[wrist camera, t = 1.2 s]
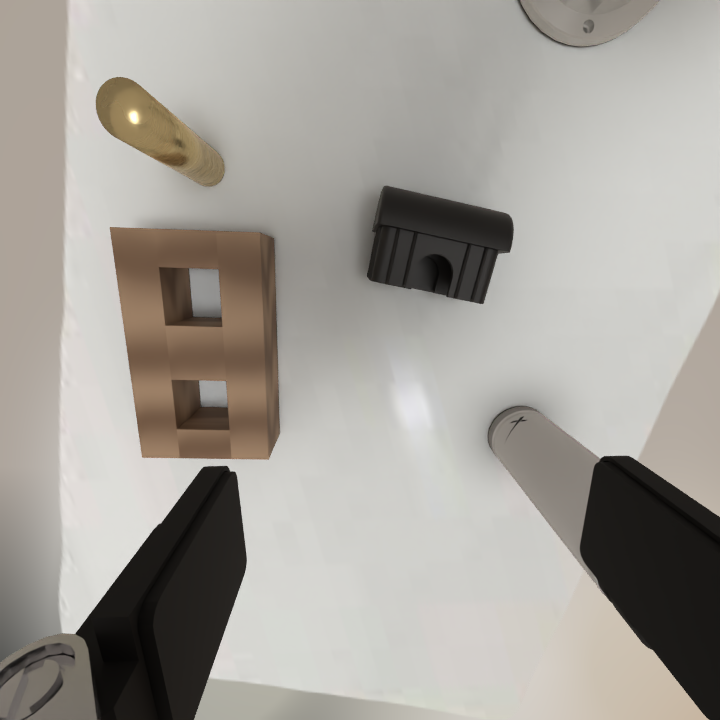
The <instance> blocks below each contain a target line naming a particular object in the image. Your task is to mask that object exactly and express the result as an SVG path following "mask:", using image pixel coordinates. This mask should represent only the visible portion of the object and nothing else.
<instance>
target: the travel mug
mask: <svg viewBox="0 0 720 720" xmlns="http://www.w3.org/2000/svg"><path fill="white" fill-rule="evenodd" d="M488 440H489V445H490V447H491V449H492V451H493V452H494V454H495V455H496V456H497V457H498V459H499V460H500V461H501V463H502V464H503V465H504V467H505V468H506V469H507V470H508V472H509V473H510V474H511V476H512V477H513V478H514V479H515V481H516V482H517V483H518V485H519V486H520V487H521V488H522V490H523V491H524V492H525V494H526V495H527V496H528V498H529V499H530V500H531V501H532V503H533V504H534V505H535V507H536V508H537V509H538V510H539V512H540V513H541V514H542V516H543V517H544V518H545V519H546V521H547V522H548V523H549V525H550V526H551V527H552V529H553V530H554V531H555V532H556V534H557V535H558V536H559V538H560V539H561V540H562V541H563V543H564V544H565V545H566V547H567V548H568V549H569V551H570V552H571V553H572V554H573V556H574V557H575V558H576V560H577V561H578V562H579V563H580V565H581V566H582V567H583V569H584V570H585V571H586V572H587V574H588V575H589V576H590V577H591V579H592V580H593V581H594V582H595V583H596V585H597V587H598V588H599V589H600V591H601V592H602V593H603V594H604V595H605V596H606V597H607V598H608V599H609V601H610V602H612V603H613V605H614V607H615V608H616V610H617V611H618V612H619V613H620V615H621V616H622V617H623V619H624V620H625V621H626V622H627V624H628V625H629V626H630V628H631V629H632V630H633V631H634V633H635V634H636V635H637V637H638V638H639V639H640V640H641V642H642V643H643V644H644V645H645V646H647V647H648V648H650V649H652V648H651V647H650V646H649V644H648V643H647V642H646V641H645V639H644V638H643V637H642V635H641V634H640V633H639V632H638V630H637V629H636V628H635V627H634V625H633V624H632V623H631V621H630V620H629V619H628V618H627V616H626V615H625V614H624V613H623V611H622V610H621V609H620V607H619V606H618V605H617V604H616V602H615V601H614V600H613V599H612V597H611V596H610V595H609V594H608V592H607V591H606V590H605V588H604V587H603V586H602V585H601V583H600V582H599V581H598V580H597V578H596V577H595V576H594V574H593V573H592V572H591V571H590V569H589V568H588V567H587V566H586V564H585V563H584V561H583V559H582V557H581V554H580V542H581V536H582V530H583V525H584V519H585V514H586V508H587V502H588V497H589V491H590V486H591V480H592V474H593V469H594V465H595V464H596V463H598V462H599V461H600V458H599V457H597V456H596V455H595V454H593V453H592V452H591V451H589V450H588V449H587V448H586V447H584V446H583V445H582V444H580V443H579V442H578V441H576V440H575V439H574V438H572V437H571V436H570V435H569V434H567V433H566V432H565V431H563V430H562V429H561V428H559V427H558V426H557V425H555V424H554V423H553V422H552V421H550V420H549V419H547V418H546V417H545V416H544V415H542V414H541V413H540V412H538V411H537V410H535V409H533V408H530V407H514V408H511V409H508V410H506V411H505V412H503V413H501V414H500V415H499V416H498V417H497V418H496V419H495V420H494V422H493V423H492V425H491V427H490V430H489V436H488ZM652 650H653V649H652Z"/></svg>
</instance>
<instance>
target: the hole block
mask: <svg viewBox="0 0 720 720" xmlns="http://www.w3.org/2000/svg"><path fill="white" fill-rule="evenodd" d="M110 232H111V239H112V246H113V253H114V261H115V268H116V275H117V282H118V289H119V296H120V303H121V310H122V317H123V324H124V332H125V339H126V346H127V353H128V360H129V367H130V374H131V381H132V388H133V395H134V403H135V410H136V417H137V424H138V431H139V438H140V445H141V452H142V458H207V459H269V457H270V455H271V453H272V450H273V448H274V446H275V443H276V441H277V439H278V436H279V434H280V426H279V391H278V357H277V322H276V287H275V252H274V238H272V237H270V236H267V235H265V234H262V233H256V232H229V231H201V230H173V229H146V228H118V227H110ZM188 268H200V269H219V282H220V297H221V311H222V318H205V317H193V314H192V303H191V291H190V280H189V269H188ZM198 380H210V381H226V385H227V399H228V408H222V407H201V403H200V392H199V381H198Z"/></svg>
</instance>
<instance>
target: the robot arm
mask: <svg viewBox="0 0 720 720" xmlns="http://www.w3.org/2000/svg"><path fill="white" fill-rule="evenodd" d="M520 1H521V4H522V6H523V8H524V9H525V11H526V13H527V14H528V16H529V18H530V19H531V20H532V22H533V23H534V24H535V25H536V26H537V27H538V28H539V29H540V30H541V31H542V32H543V33H545V34H546V35H548V36H549V37H551V38H552V39H554V40H556V41H559V42H562V43H565V44H567V45H574V46H591V45H599V44H601V43H604V42H607V41H610V40H613V39H615V38H616V37H618V36H620V35H622V34H623V33H625V32H627V31H628V30H629V29H631V28H632V27H633V26H634V25H635V24H637V23H638V22H639V21H640V20H642V19H643V18H644V17H645V16H646V15H647V14H648V13H649V12H650V11H651V10H652V9H653V8H654V7H655V6H656V5H657V3H658V2H659V1H660V0H520ZM580 554H581V557H582V559H583V561H584V563H585V564H586V566H587V567H588V568H589V569H590V571H591V572H592V573H593V574H594V576H595V577H596V578H597V580H598V581H599V582H600V583H601V585H602V586H603V587H604V588H605V590H606V591H607V592H608V594H609V595H610V596H611V597H612V599H613V600H614V601H615V602H616V604H617V605H618V606H619V607H620V609H621V610H622V611H623V613H624V614H625V615H626V616H627V618H628V619H629V620H630V621H631V623H632V624H633V625H634V627H635V628H636V629H637V630H638V632H639V633H640V634H641V635H642V637H643V638H644V639H645V641H646V642H647V643H648V644H649V646H650V647H651V648H652V649H653V651H654V652H655V653H656V654H657V656H658V657H659V658H660V660H661V661H662V662H663V663H664V665H665V666H666V667H667V668H668V670H669V671H670V672H671V673H672V675H673V676H674V677H675V679H676V680H677V681H678V682H679V684H680V685H681V686H682V687H683V688H684V690H685V691H686V693H687V694H688V695H689V696H690V698H691V699H692V700H693V701H694V703H695V704H696V705H697V706H698V708H699V709H700V710H701V712H702V713H703V714H704V715H705V716H706V717H707V718H708V719H709V720H720V517H719V516H717V515H716V514H714V513H712V512H711V511H710V510H708V509H707V508H706V507H704V506H702V505H701V504H699V503H698V502H697V501H695V500H694V499H692V498H690V497H689V496H688V495H686V494H685V493H683V492H682V491H680V490H679V489H678V488H676V487H675V486H673V485H672V484H670V483H669V482H667V481H666V480H664V479H663V478H661V477H660V476H658V475H657V474H655V473H654V472H653V471H651V470H650V469H648V468H647V467H645V466H644V465H642V464H641V463H639V462H638V461H636V460H635V459H633V458H632V457H629V456H604V457H602V458H601V459H600V461H599V462H598V463H596V464H595V465H594V469H593V474H592V480H591V486H590V491H589V497H588V502H587V508H586V514H585V519H584V525H583V530H582V536H581V542H580ZM246 562H247V557H246V548H245V540H244V532H243V523H242V515H241V506H240V498H239V490H238V481H237V475H236V472H230V470H229V468H228V467H227V466H208V467H203V468H202V469H201V470H200V472H199V473H198V475H197V476H196V477H195V479H194V480H193V481H192V483H191V484H190V485H189V487H188V488H187V489H186V491H185V492H184V493H183V495H182V496H181V497H180V499H179V500H178V502H177V503H176V504H175V506H174V507H173V508H172V510H171V511H170V512H169V514H168V515H167V516H166V518H165V519H164V520H163V522H162V523H161V524H159V525H158V526H157V527H156V528H155V529H154V530H153V531H152V533H151V534H150V535H149V537H148V538H147V539H146V541H145V542H144V543H143V545H142V546H141V547H140V549H139V550H138V551H137V553H136V554H135V555H134V557H133V558H132V559H131V561H130V562H129V563H128V564H127V566H126V567H125V568H124V570H123V571H122V572H121V574H120V575H119V576H118V578H117V579H116V580H115V582H114V583H113V584H112V586H111V587H110V588H109V590H108V591H107V592H106V594H105V595H104V596H103V598H102V599H101V600H100V602H99V603H98V604H97V606H96V607H95V608H94V610H93V611H92V612H91V614H90V615H89V616H88V618H87V619H86V620H85V622H84V623H83V624H82V626H81V627H80V628H79V630H78V631H77V632H76V634H64V633H62V634H57V635H53V636H48V637H45V638H43V639H40V640H38V641H35V642H33V643H31V644H29V645H27V646H25V647H23V648H22V649H20V650H18V651H17V652H15V653H13V654H12V655H10V656H8V657H7V658H6V659H4V660H3V661H2V662H1V663H0V720H194V718H195V715H196V712H197V709H198V706H199V703H200V700H201V697H202V694H203V692H204V689H205V686H206V683H207V680H208V677H209V674H210V672H211V669H212V666H213V663H214V660H215V657H216V654H217V651H218V649H219V646H220V643H221V640H222V637H223V634H224V631H225V628H226V626H227V623H228V620H229V617H230V614H231V611H232V608H233V606H234V603H235V600H236V597H237V594H238V591H239V588H240V585H241V583H242V580H243V577H244V574H245V570H246Z"/></svg>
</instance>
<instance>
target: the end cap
mask: <svg viewBox="0 0 720 720" xmlns="http://www.w3.org/2000/svg"><path fill="white" fill-rule="evenodd" d="M513 230H514V229H513V222H512V218H511V217H510V216H509V215H508V214H506V213H503V212H498V211H494V210H490V209H485V208H481V207H477V206H472V205H468V204H464V203H459V202H455V201H451V200H446V199H442V198H437V197H433V196H429V195H424V194H420V193H416V192H411V191H407V190H403V189H398V188H394V187H390V186H384V187H383V189H382V191H381V195H380V199H379V203H378V207H377V211H376V216H375V220H374V225H373V230H372V231H373V232H376V234H375V239H374V244H373V249H372V254H371V259H370V263H369V268H368V273H367V277H368V278H369V280H371V281H374V282H379V283H383V284H388V285H393V286H398V287H403V288H407V289H411V288H414V289H419V290H424V291H429V292H433V293H437V294H442V295H446V297H451V298H455V299H460V300H465V301H470V302H475V303H479V304H483V303H484V300H485V296H486V293H487V289H488V286H489V283H490V279H491V276H492V272H493V269H494V265H495V262H496V258H497V255H498V254H499V253H509V252H510V250H511V246H512V240H513Z"/></svg>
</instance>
